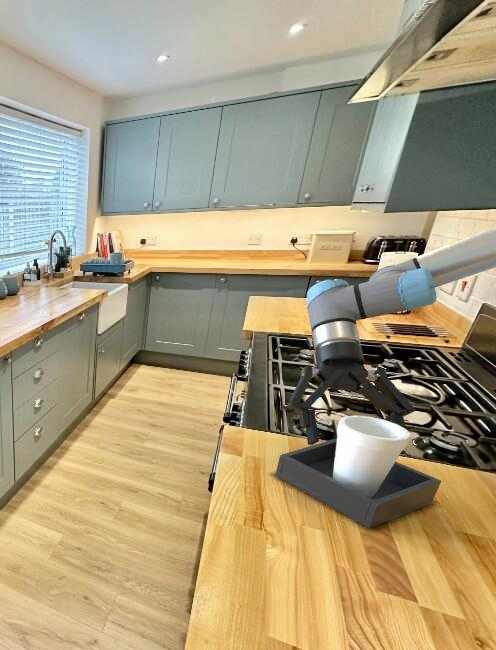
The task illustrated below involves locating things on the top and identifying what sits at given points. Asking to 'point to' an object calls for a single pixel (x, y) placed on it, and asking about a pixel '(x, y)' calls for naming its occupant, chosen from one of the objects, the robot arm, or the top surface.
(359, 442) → the foam cup
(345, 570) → the top surface
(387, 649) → the top surface
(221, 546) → the top surface
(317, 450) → the tray
